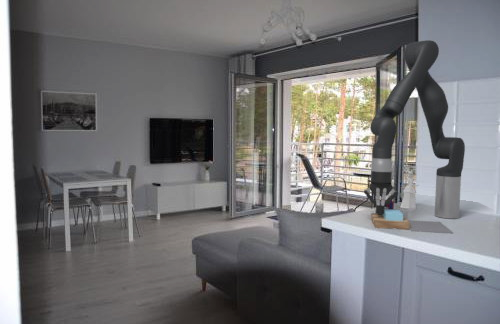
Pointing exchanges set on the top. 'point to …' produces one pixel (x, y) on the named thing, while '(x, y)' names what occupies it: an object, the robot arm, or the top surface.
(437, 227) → the mat
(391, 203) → the mug
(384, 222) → the deck
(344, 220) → the top surface
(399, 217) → the light blue block
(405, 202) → the figurine
